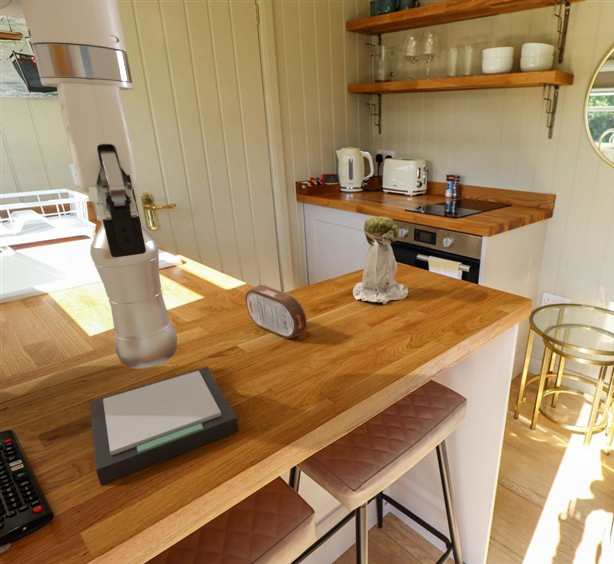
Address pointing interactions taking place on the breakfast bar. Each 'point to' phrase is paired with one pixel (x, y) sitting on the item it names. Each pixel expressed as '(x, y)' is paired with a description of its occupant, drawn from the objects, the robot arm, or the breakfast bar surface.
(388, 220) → the draped concrete planter
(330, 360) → the breakfast bar surface
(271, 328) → the tin
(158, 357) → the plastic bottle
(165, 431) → the scale
